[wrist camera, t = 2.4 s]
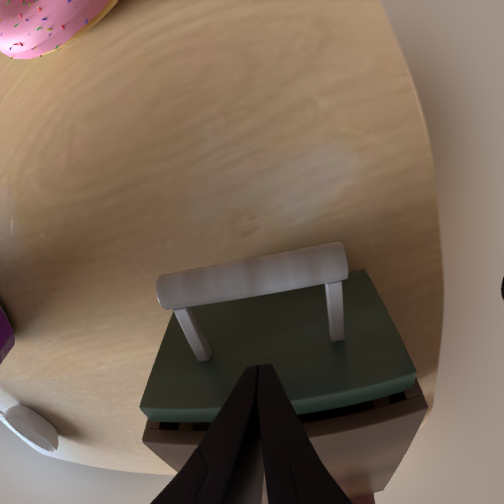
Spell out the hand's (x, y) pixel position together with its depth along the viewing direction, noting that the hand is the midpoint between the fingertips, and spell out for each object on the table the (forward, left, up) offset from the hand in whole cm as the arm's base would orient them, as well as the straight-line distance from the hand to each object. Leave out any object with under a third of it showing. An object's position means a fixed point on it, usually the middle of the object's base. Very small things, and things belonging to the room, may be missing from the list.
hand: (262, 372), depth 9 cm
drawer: (0, +6, -8) cm, 10 cm away
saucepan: (+46, +21, -9) cm, 51 cm away
